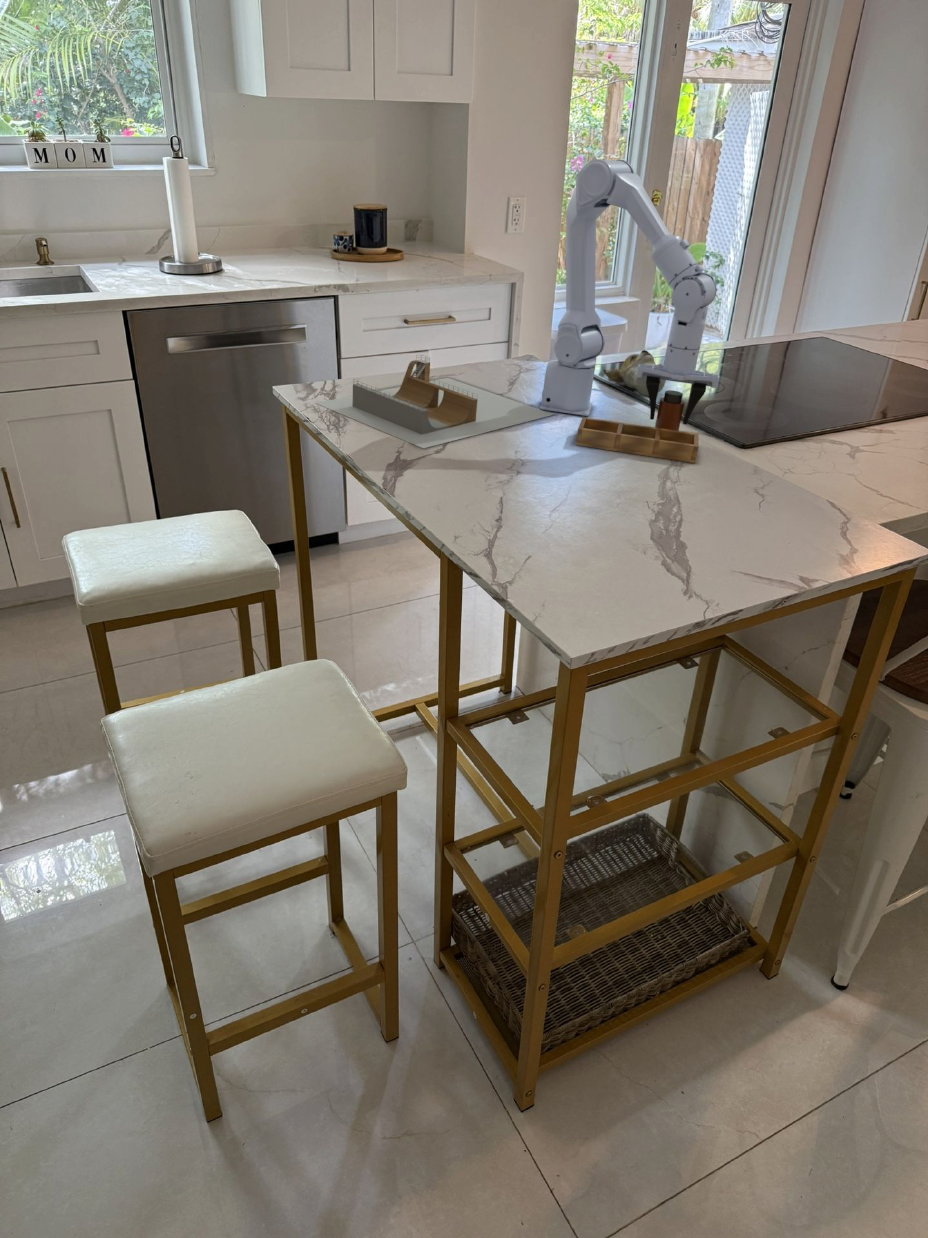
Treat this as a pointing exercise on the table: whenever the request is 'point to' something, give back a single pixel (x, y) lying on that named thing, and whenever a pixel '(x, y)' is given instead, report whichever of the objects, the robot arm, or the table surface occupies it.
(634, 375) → the ceramic sculpture
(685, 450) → the spice tray
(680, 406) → the spice bottle
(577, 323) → the robot arm
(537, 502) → the table surface
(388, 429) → the skate ramp
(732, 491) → the table surface
